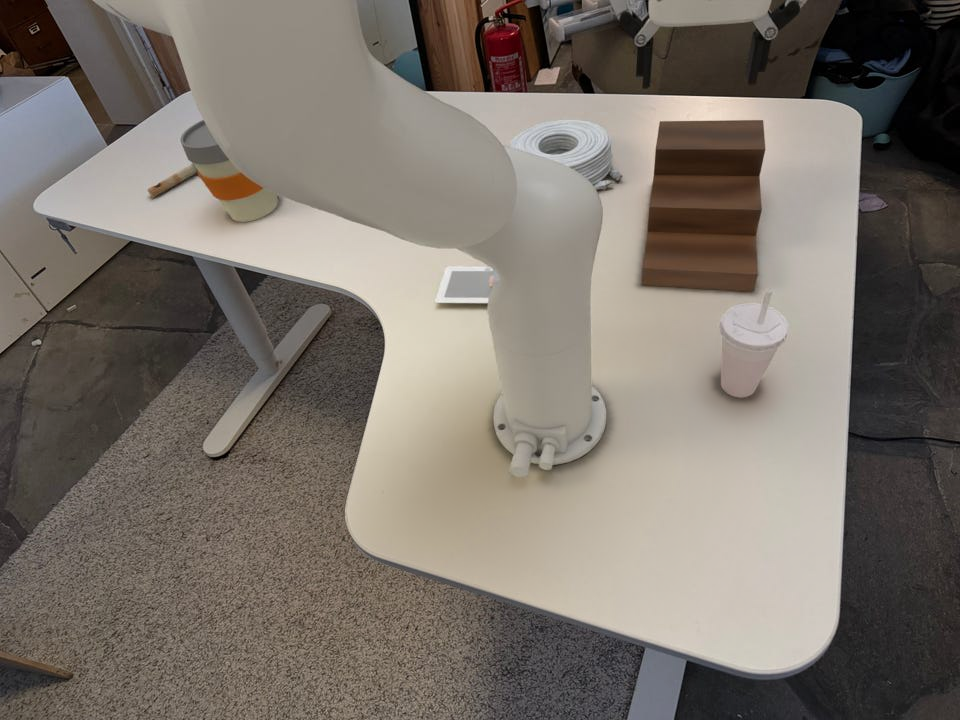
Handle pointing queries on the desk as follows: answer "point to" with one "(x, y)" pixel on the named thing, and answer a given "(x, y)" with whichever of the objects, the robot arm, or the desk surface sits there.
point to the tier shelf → (705, 205)
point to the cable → (572, 148)
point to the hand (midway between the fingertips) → (697, 81)
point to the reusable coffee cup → (225, 177)
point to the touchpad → (466, 284)
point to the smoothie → (749, 344)
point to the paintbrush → (172, 180)
